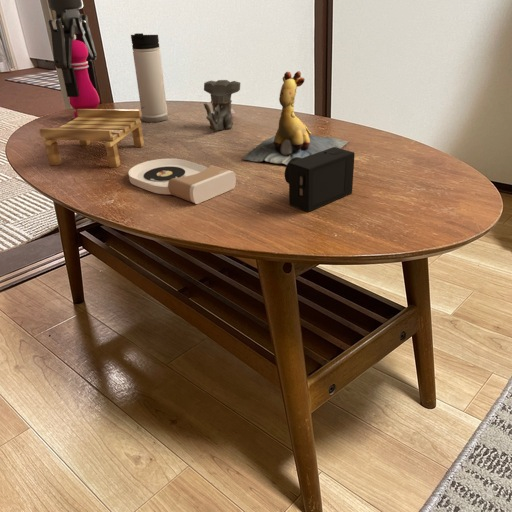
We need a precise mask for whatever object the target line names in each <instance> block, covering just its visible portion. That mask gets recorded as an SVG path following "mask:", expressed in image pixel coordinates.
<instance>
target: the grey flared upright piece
mask: <svg viewBox="0 0 512 512" xmlns="http://www.w3.org/2000/svg"><path fill="white" fill-rule="evenodd" d="M203 91H204V92H206V93H208V94H210V103H211V106H212V111H211V108H210V106H209V104H208V103H203V107H204V109H205V111H206V120H207V121H208V122H209V128H210V129H212V131H214V132H218V131H224V130H231V129H232V128H233V125H234V122H233V117H234V115H235V113H236V112H237V111H235V110H234V108H232V102H233V101H232V95H233V94H236V93H238V92H240V91H241V82H240V81H236V80H231V81H230V80H228V79H217V80H208V81H204V83H203Z"/></svg>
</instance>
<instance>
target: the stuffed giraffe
mask: <svg viewBox="0 0 512 512" xmlns="http://www.w3.org/2000/svg"><path fill="white" fill-rule="evenodd" d="M301 75H302V73H301V71H300V70H298V71H296V72H295V73H294V75H293V76H292V73H291V72H290V71H285V72H284V74H283V76H282V82H283V83H282V84H281V88H280V91H279V97H278V101H279V104H280V106H281V113H280V117H279V120H278V127H277V130H276V132H275V135H273V136H271V137H269V138H267V139H265V140H263V141H262V142H260V143H259V144H258V145H256V146H255V147H254V148H252V149H251V150H250V151H249V152H248V153H247V154H246V155H245V156H243V157H242V158H241V160H245V161H250V162H259V163H261V162H263V161H265V162H267V163H272V164H283V165H286V166H287V164H288V163H289V161H290V160H291V159H293V158H295V157H300V158H304V157H307V156H309V155H312V154H315V153H318V152H321V151H324V150H327V149H330V148H332V147H336V148H340V149H343V147H345V146H346V145H347V144H348V143H349V142H350V141H349V140H342V139H340V138H335V137H332V136H317V135H312V132H311V131H310V129H308V127H307V125H306V124H305V123H304V122H302V120H301V119H299V117H297V116H296V115H295V112H294V111H295V101H296V96H297V89H298V87H301V86H302V85H303V84H304V83H305V77H303V76H301Z"/></svg>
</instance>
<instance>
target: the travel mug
mask: <svg viewBox="0 0 512 512" xmlns="http://www.w3.org/2000/svg"><path fill="white" fill-rule="evenodd" d="M130 39H131V47H132V49H131V50H132V55H133V63H134V69H135V77H136V84H137V90H138V97H139V103H140V111H141V118H142V119H141V120H142V121H144V122H145V123H160V122H164V121H166V120H168V119H169V114H168V107H167V106H168V105H167V97H166V88H165V79H164V71H163V62H162V56H161V55H162V54H161V47H160V43H159V42H160V41H159V34H144V33H143V32H142V33H136V32H135V33H134V34H130Z"/></svg>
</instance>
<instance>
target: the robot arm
mask: <svg viewBox="0 0 512 512" xmlns="http://www.w3.org/2000/svg"><path fill="white" fill-rule="evenodd" d="M47 4H48V8H49V10H51V11H54V12H55V19H49V20H48V25H49V29H50V34H51V35H50V36H51V45H52V54H53V65H54V67H55V68H56V69H61V73H62V79H63V82H64V87H65V91H66V96H67V98H69V97H79V92H78V87H77V82H76V77H75V72H74V68H71V57H72V39H74V34H75V35H76V40H79V41H81V42H83V43H84V44H85V45H86V46H87V49H88V57H87V58H86V61H88V63H87V64H88V66H89V67H88V68H87V69H88V75H89V79H90V81H91V83H92V85H93V87H94V88H95V89H98V83H97V77H96V76H97V75H96V72H95V66H94V61H96V60H97V51H96V47H95V44H94V40H93V36H92V33H91V29H90V25H89V19H88V15H87V14H86V13H84V14H83V13H80V9H83V7H84V2H83V0H47Z"/></svg>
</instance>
